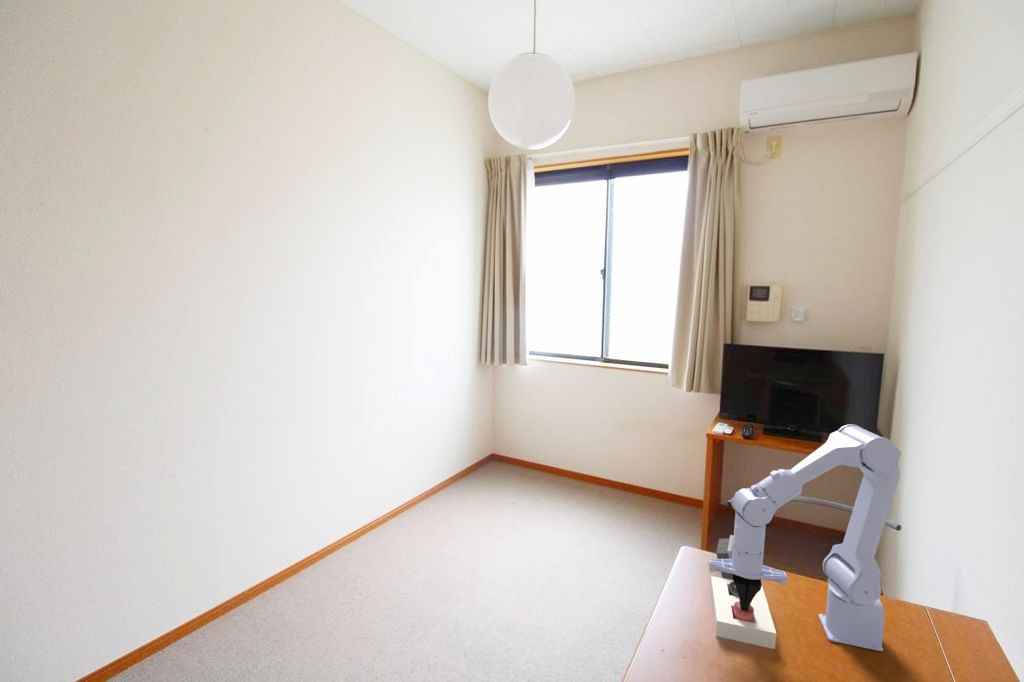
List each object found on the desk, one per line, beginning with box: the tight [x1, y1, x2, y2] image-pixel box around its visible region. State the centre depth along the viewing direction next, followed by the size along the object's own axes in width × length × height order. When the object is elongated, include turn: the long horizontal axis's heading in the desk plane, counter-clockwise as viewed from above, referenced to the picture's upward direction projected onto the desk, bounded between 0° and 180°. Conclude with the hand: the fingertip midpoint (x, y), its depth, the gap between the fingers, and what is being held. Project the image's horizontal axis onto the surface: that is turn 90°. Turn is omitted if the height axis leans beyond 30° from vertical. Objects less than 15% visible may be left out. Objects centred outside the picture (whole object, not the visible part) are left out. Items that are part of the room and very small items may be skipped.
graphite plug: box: [729, 582, 739, 597], centre depth 109 cm, size 4×4×4 cm
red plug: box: [734, 601, 754, 623], centre depth 101 cm, size 4×4×4 cm
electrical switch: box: [715, 534, 734, 580], centre depth 120 cm, size 9×5×9 cm, turn 152°
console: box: [709, 575, 777, 650], centre depth 105 cm, size 11×16×4 cm
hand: (743, 607), depth 101 cm, fingers closed, pressing on red plug
